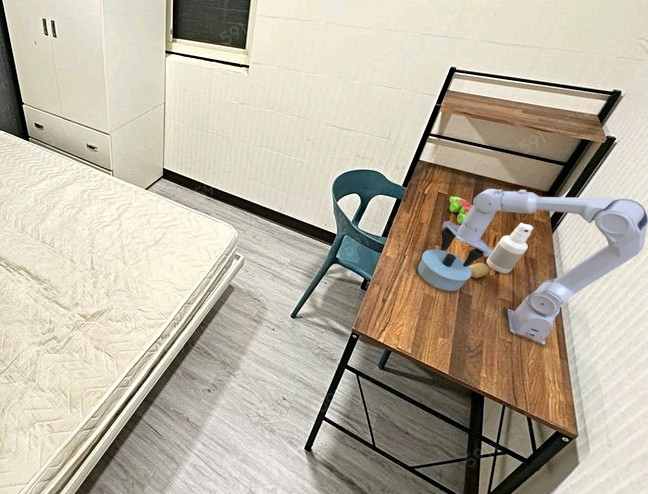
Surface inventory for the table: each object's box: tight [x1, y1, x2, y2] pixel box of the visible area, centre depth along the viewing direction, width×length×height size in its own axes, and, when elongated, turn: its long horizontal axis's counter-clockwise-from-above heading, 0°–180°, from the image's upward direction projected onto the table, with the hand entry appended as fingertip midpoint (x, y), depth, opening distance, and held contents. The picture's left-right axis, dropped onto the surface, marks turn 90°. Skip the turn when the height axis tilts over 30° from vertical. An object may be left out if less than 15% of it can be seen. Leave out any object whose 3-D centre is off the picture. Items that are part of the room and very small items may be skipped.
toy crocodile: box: [449, 196, 473, 225], centre depth 159 cm, size 20×7×6 cm, turn 168°
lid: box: [421, 248, 472, 282], centre depth 130 cm, size 14×14×4 cm
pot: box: [417, 259, 467, 292], centre depth 133 cm, size 13×13×6 cm
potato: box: [469, 262, 489, 279], centre depth 134 cm, size 7×4×4 cm, turn 110°
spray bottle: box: [486, 222, 534, 274], centre depth 134 cm, size 7×7×18 cm
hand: (454, 257), depth 130 cm, fingers open, 7 cm apart
